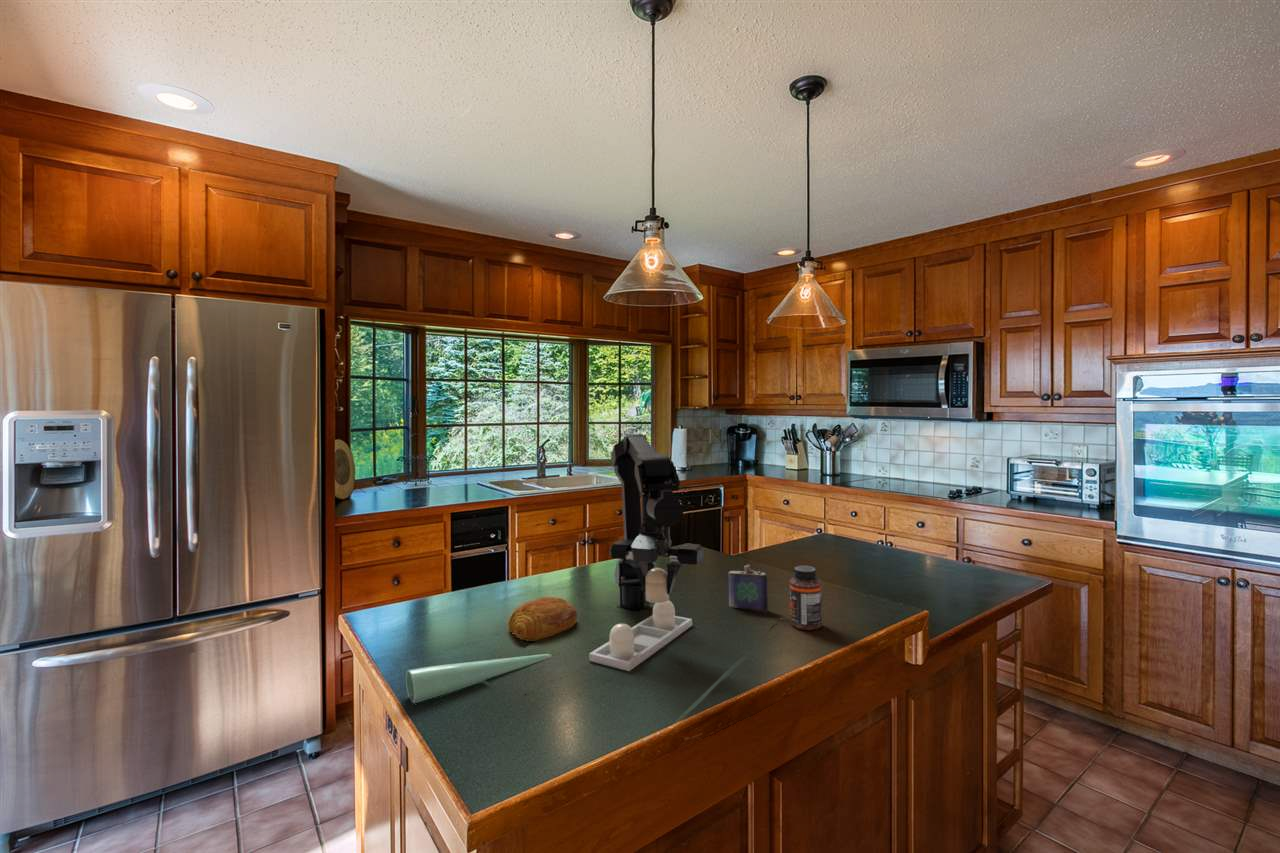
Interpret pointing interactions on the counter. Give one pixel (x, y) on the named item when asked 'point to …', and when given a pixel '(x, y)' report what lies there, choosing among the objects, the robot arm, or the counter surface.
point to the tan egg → (656, 586)
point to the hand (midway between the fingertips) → (657, 592)
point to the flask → (748, 589)
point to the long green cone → (461, 675)
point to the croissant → (542, 618)
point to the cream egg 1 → (622, 642)
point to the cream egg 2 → (664, 615)
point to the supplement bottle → (805, 599)
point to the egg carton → (641, 643)
